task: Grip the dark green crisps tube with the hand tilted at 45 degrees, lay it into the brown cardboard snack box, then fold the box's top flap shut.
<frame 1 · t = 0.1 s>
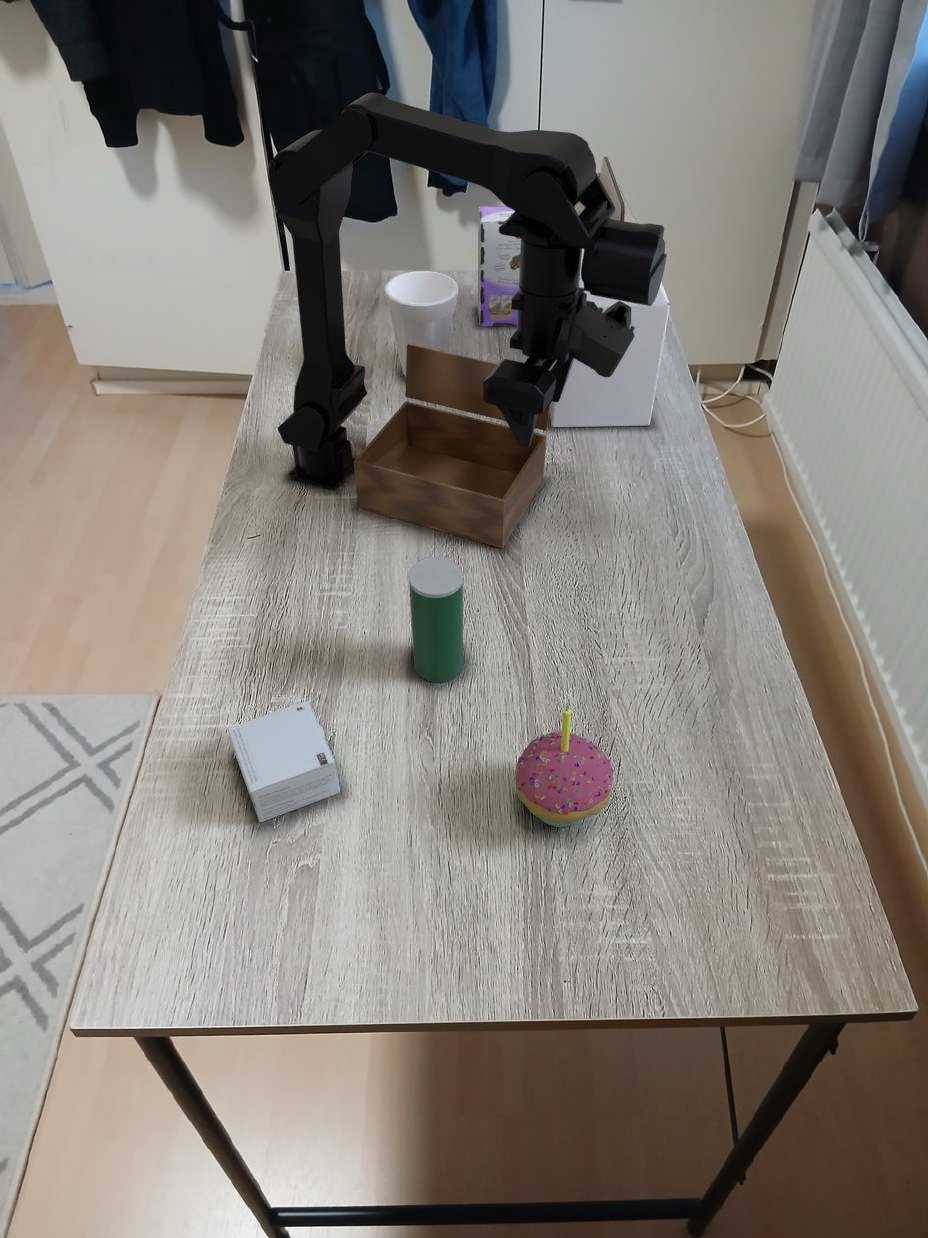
hand: (539, 422, 99), 15 cm above the table, tool pointing down, fingers open, 9 cm apart
crisps tube: (438, 664, 95), on the table
cupcake: (560, 806, 83), on the table
snack box: (452, 494, 114), on the table
candy box: (521, 318, 145), on the table
gable box: (590, 384, 132), on the table
cup: (424, 374, 134), on the table
small box: (288, 777, 85), on the table
flap: (476, 386, 111), point 11 cm above the table, hinge at 100.0°
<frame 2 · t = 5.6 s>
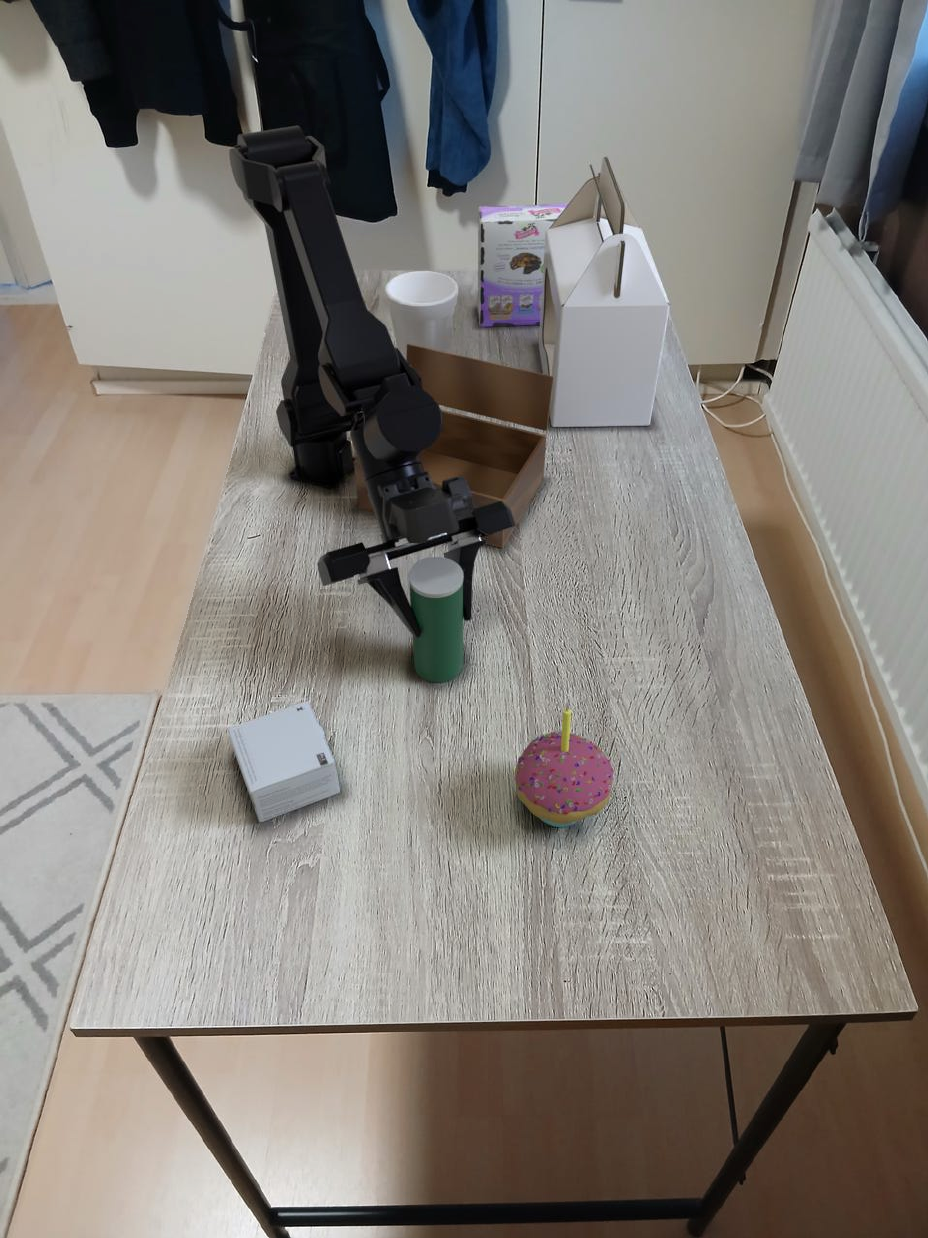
hand: (442, 628, 89), 7 cm above the table, tool tilted 45°, fingers closed on crisps tube, 5 cm apart
crisps tube: (438, 664, 95), on the table, touching gripper
everything else where it was.
when the fingers open (9 cm above the table, at t = 14.4 s): crisps tube drops 3 cm and tips over, resting on snack box.
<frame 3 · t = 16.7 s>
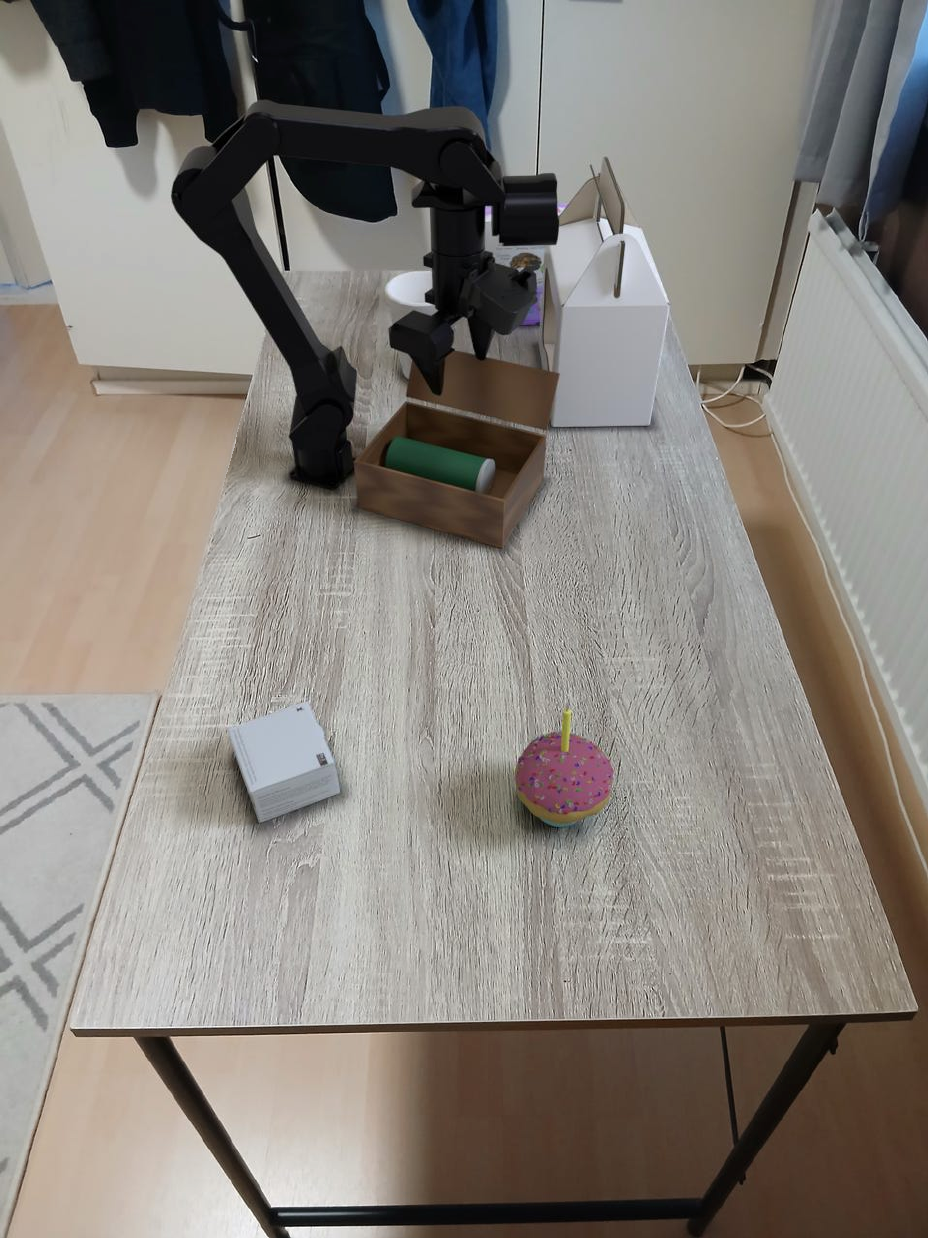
hand: (459, 376, 109), 13 cm above the table, tool pointing down, fingers open, 9 cm apart
crisps tube: (394, 456, 115), point 3 cm above the table, tilted 90°, touching snack box
flap: (480, 385, 112), point 10 cm above the table, hinge at 121.2°, touching gripper
everything else where it was.
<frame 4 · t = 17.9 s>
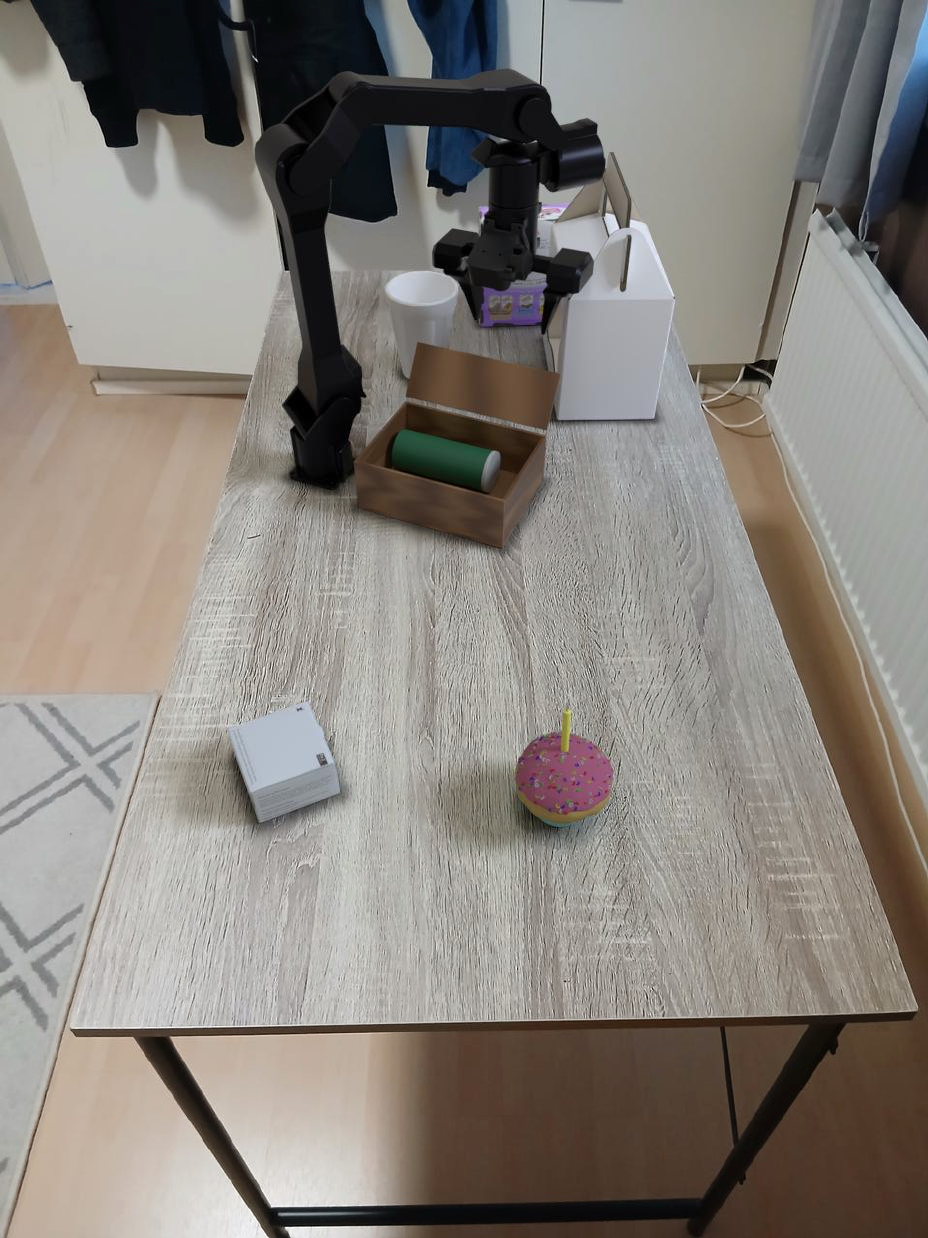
hand: (510, 326, 116), 13 cm above the table, tool pointing down, fingers open, 9 cm apart
crisps tube: (400, 448, 116), point 3 cm above the table, tilted 90°, touching snack box
gable box: (595, 378, 133), on the table, touching gripper
flap: (481, 385, 113), point 10 cm above the table, hinge at 125.9°
everything else where it was.
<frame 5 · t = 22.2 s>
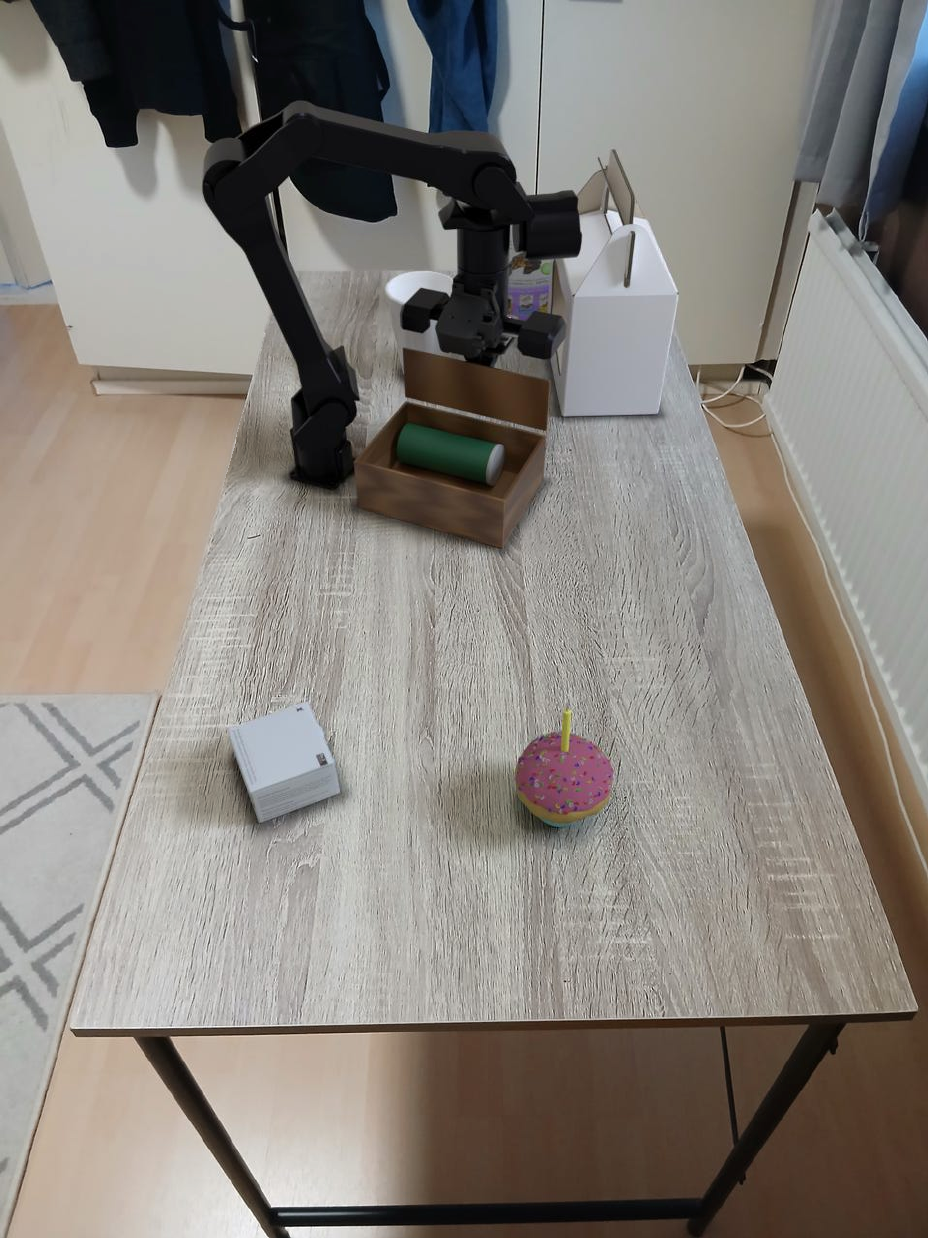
hand: (481, 387, 113), 10 cm above the table, tool pointing down, fingers closed
crisps tube: (405, 442, 117), point 3 cm above the table, tilted 90°, touching snack box
gable box: (598, 374, 134), on the table
flap: (474, 389, 111), point 11 cm above the table, hinge at 90.0°, touching gripper
everything else where it was.
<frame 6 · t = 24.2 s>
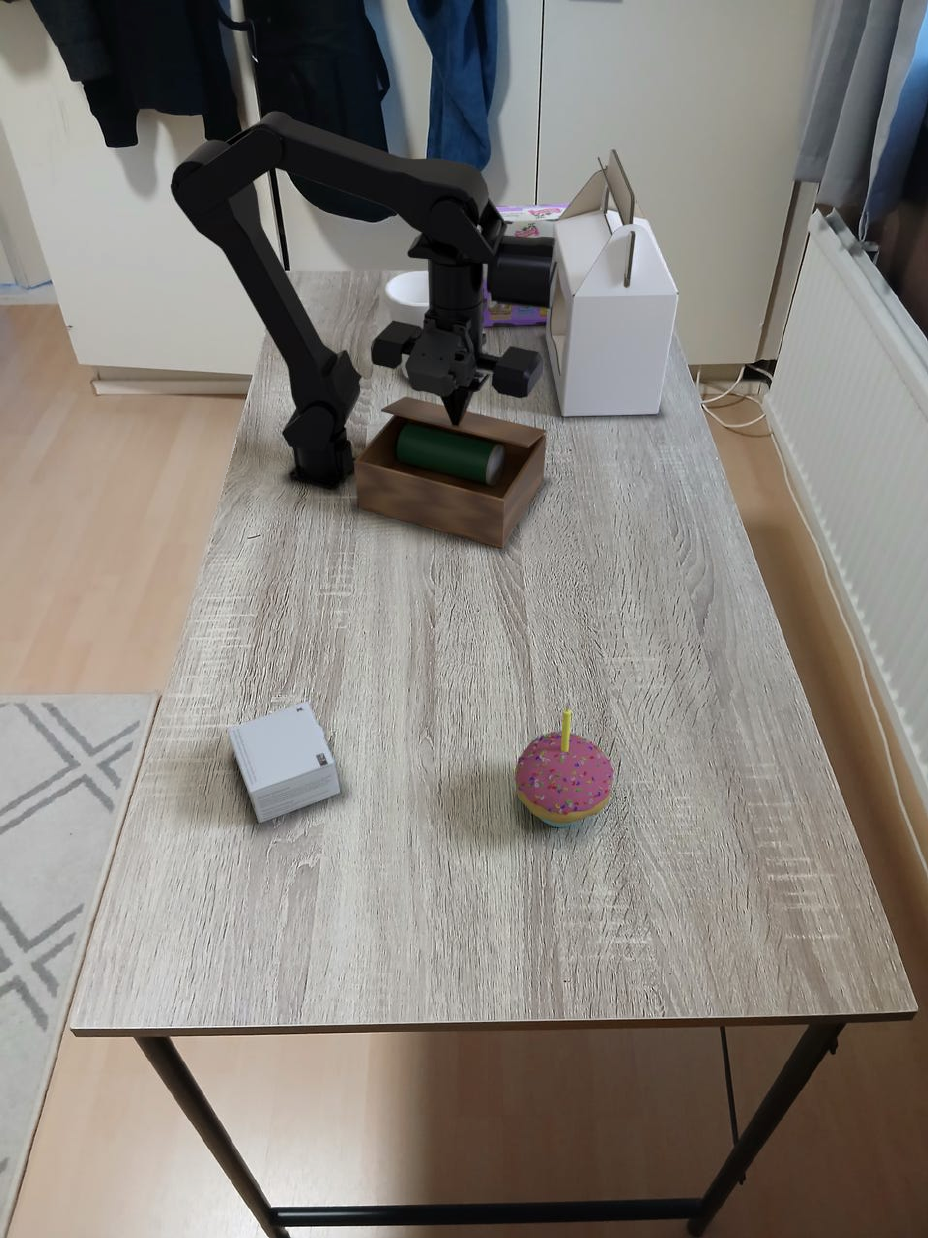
hand: (456, 423, 109), 9 cm above the table, tool pointing down, fingers closed, pressing on flap
flap: (463, 420, 110), point 8 cm above the table, hinge at 17.1°, touching gripper
everything else where it was.
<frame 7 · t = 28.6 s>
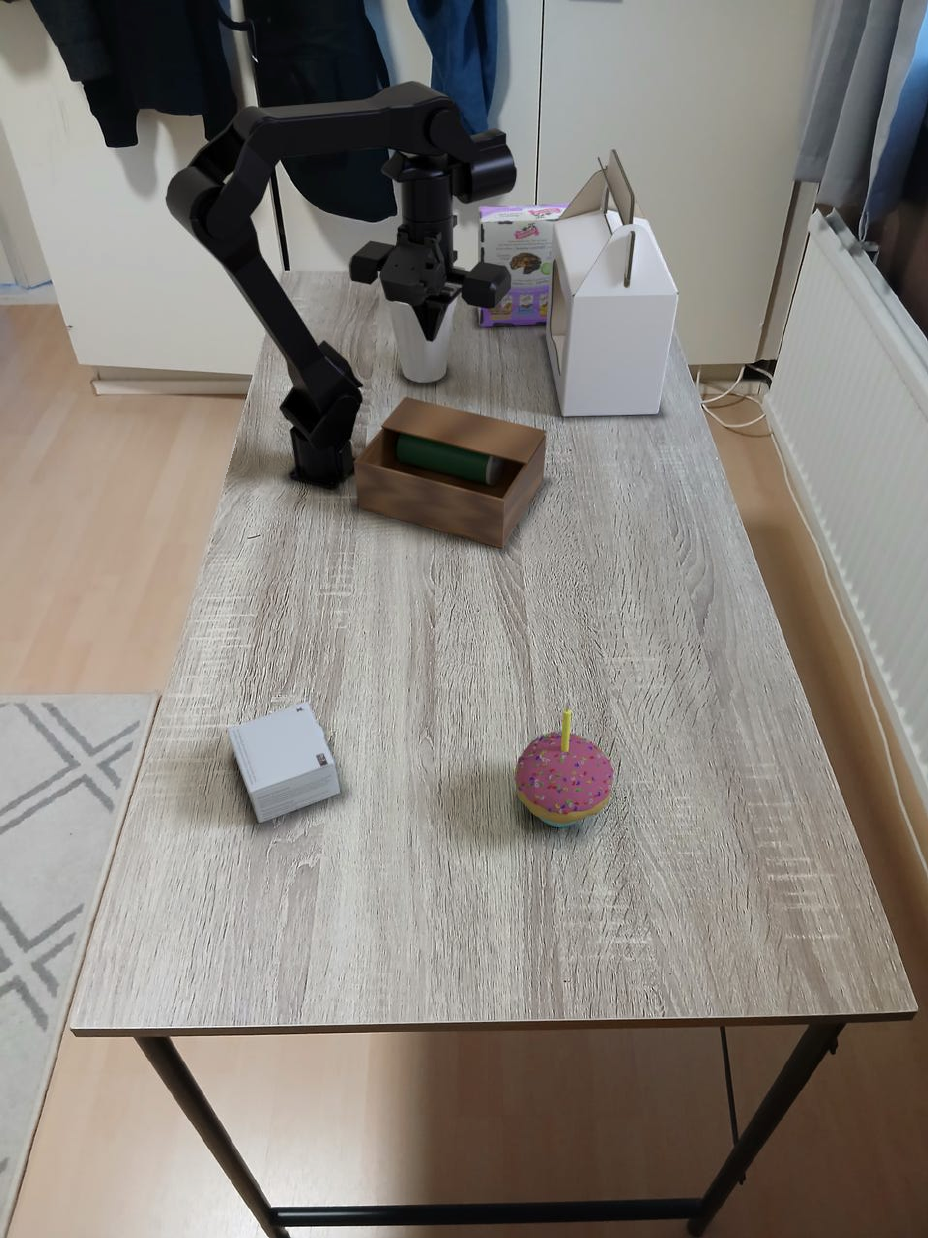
hand: (431, 339, 115), 13 cm above the table, tool pointing down, fingers closed
flap: (463, 429, 111), point 7 cm above the table, hinge at -1.2°
everything else where it was.
at the end: crisps tube inside the target area in the snack box (9.1 cm from its centre), point 2.9 cm above the snack box's base; flap at -1° (first picture: +100°); the gripper is holding nothing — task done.
